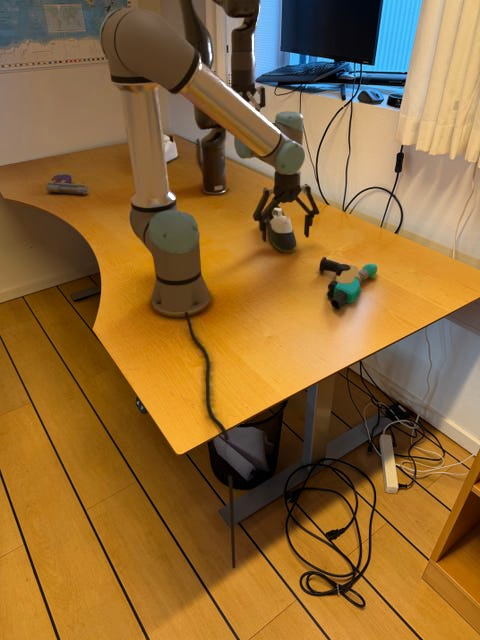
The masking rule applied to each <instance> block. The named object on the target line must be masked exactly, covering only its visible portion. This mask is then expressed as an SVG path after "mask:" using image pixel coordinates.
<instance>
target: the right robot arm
mask: <svg viewBox="0 0 480 640" xmlns="http://www.w3.org/2000/svg"><path fill="white" fill-rule="evenodd" d="M177 1H178V6H179V10H180V15H181V21H182V28H183V33H184V34H183V35H184V39H185V40H186V41H187V42H188V43H190V44H191V45H192V46H193V47H194V48H195V49H196V50H197V51H198V52H199V53H200V56H201V62H203V63H204V64H205V65H206V66H207V67H208V68H209V69H211V70H212V69H213V65H214V62H215V53H214V45H213V38H212V35H211V32H210V31H209V29H208V27H207V25H206V24H205V23H204V21H203V20H202V18H201V17H200V16H199V14H198V12H197V10H196V7H195V4H194V0H177ZM211 1H212V2H213V3H214V4H215V5H216V6H218V7H221V8H222V10H223V11H224V13H225V14H226V16H227V17H229V18H232V19H243V21H242V23H241V25H240V26H238V27H235V28H233V29H232V30H231V34H230V40H231V41H230V43H231V46H230V47H231V56H230V81H231V83H230V87H231V88H232V89H233V90H234V91H236V92H237V93H238V94H239V95H240V96H241V97H242V98H244V99H245V100H246V101H247V102H248V103H249V104H250V103H251V104H252V106H253V107H254V108H255V109H256V110H257V111H258V112H259V113H261V109H262V108H265V107H266V88H265V87H264V86H263V85H260V86H258V87H256V64H257V63H256V54H255V35H256V30H257V26H258V21H259V17H260V13H261V5H262V4H261V3H262V2H261V0H211ZM256 93H257V94H259V103H258V101H257V100H256V98H255V97H254V96H255V94H256ZM192 105H193V106H192V107H193V116H194V121H195V124H196V126H197V128H198V129H199V130H200V131H201V130H202V131H205V130H206V131H207V130H210V132H208V133H207V134H206V135H204V136H203V137H202V138H201V139H199V138H196V142H197V146H198V147H197V148H198V149H197V151H198V152H197V154H198V160H199V164H200V166H201V172H202V173H201V176H202V177H201V179H202V191H203V193H204V194H207V195H214V196H215V195H223V194H224V193H226V192H227V191H228V188H227V161H226V160H227V159H226V141H227V130H226V129H224V128H223V127H222V126H221V125H219V124H218V123H217V122H216V121H214V120H213V119H212V118H210V117H209V116H208V115H207V114H205V113H204V112H203V111H201V110H200V109H199V108H198V107H196V106H195V105H194V104H192Z"/></svg>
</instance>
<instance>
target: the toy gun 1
mask: <svg viewBox="0 0 480 640" xmlns="http://www.w3.org/2000/svg"><path fill="white" fill-rule="evenodd" d="M72 182H73V176H72V174H70V173H58V174H56V175H53V177H52V178H51V182H47V185H46V188H45V190H46V191H47V192H49V193H57V194H74V195H87V192H88V191H89V187H88V185H84V184H78V183H76V184H75V183H72Z"/></svg>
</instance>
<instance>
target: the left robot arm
mask: <svg viewBox="0 0 480 640" xmlns="http://www.w3.org/2000/svg"><path fill="white" fill-rule="evenodd" d="M99 44H100V47H101V50H102V52H103V54H104V57H105V58H106V59H107V63H108V69H109V76H110V80H111V83H112V84H113V85H114V86H115V87H116V88H117V89H118V90H119V94H120V102H121V105H122V106H121V107H122V115H123V120H124V126H125V128H124V129H125V133H126V140H127V146H128V152H129V159H130V165H131V172H132V173H131V174H132V179H133V185H134V193H133V194H132V195H131V197H130V207H131V208H130V210H129V216H128V217H129V224H130V227H131V230H132V232H133V233H134V234H135V236H136V237H137V238H138V239H139V241H141V243H142V244H143V246H145V247H146V249H147V250H148V251H149V253H150V254H151V256H152V260H153V261H152V262H153V268H154V274H155V275H154V276H155V281H154V284H153V290H152V294H151V305H152V308H153V310H154V311H155V312H156V313H157V314H159V315H160V316H163V317H167V318H171V319H183V318H185V319H186V322H187V325H188V330H189V333H190V334H189V335H190V337H191V338H192V341H194V343H195V344H196V345H197V346H198V348H199V350H201V352H202V353H203V356H204V358H205V361H206V362H205V363H206V367H205V368H206V369H205V402H206V409H207V412H208V415H209V418H210V419H211V420H212V422H214V424H215V425H216V426H217V427H218V428H219V430H220V431H221V432H222V434H223V438H224V440H225V441H229V440H230V437H229V434H228V431H227V430H226V428H225V426H224V425H223V424H222V422H220V421H219V420H218V419H217V417H216V416H215V415H214V413H213V409H212V406H211V400H210V399H211V398H210V394H211V393H210V373H211V362H210V357H209V353H208V352H207V350H206V349H205V347H204V346H203V345H202V344H201V342H199V340H198V339H197V337H196V335H195V334H194V331H193V326H192V322H191V319H190V317H194V316H196V315H199V314H201V313H202V312H204V311H205V310H207V308H208V307H209V306H210V303H211V292H210V290H209V288H208V286H207V284H206V281H205V278H204V277H203V275H202V262H201V261H202V259H201V243H200V242H201V241H200V238H201V237H200V235H201V234H200V230H199V226H198V221H197V220H196V218H195V217H194V216H193V215H192V214H190V213H188V212H186V211H181V210H178V202H177V195H176V193H175V192H173V191H172V190H171V189H170V184H169V175H168V164H167V162H166V154H165V145H164V136H163V134H164V127H163V119H162V110H161V100H160V91H159V90H160V89H159V88H160V87H162V88H164V89H165V90H166V91H167V92H169V93H170V94H171V95H180V96H182V97H183V98H184V99H186V100H187V101H188V102H189V103H191V104H192V105H193V104H194V105H195V106H196V107H198V108H199V109H200V110H201V111H203V112H204V113H205V114H207V115H208V116H209V117H210V118H212V119H213V120H214V121H216V122H217V123H218V124H219V125H221V126H222V127H223V128H224V129H226V132H228V133H230V134H231V135H232V136H233V137H234V138H233V145H234V150H235V152H236V154H237V156H238V157H239V158H240V159H243V160H244V159H249V160H250V159H252V158H256V159H258V160H259V161H262V162H263V163H265V164H267V165H269V166H270V167H272V168H274V170H275V171H274V175H273V176H274V177H273V178H274V181H273V182H274V183H273V188H268V187H266V186H265V187H264V188H263V191H262V195H261V198H260V199H259V202H258V204H257V206H256V208H255V210H254V212H253V215H252V218H253V220H254V221H255V222H258V230H259V232H260V233H261V240H262V242H263V243H267V224H266V218H267V217H268V216H269V215H270V213H271V212H272V211H273V210H274V208H275V207H276V206H279V205H280V204H286V203H294V201H295V202H296V203H297V204H298V205H299V206H300V207H301V208H302V210H304V212H305V213H306V214H304V226H303V235H304V236H305V238H306V239H307V238H309V237H310V227H312V226H313V224H314V223H313V222H314V218H315V216H317V215H320V210H319V208H318V206H317V203H316V201H315V199H314V197H313V195H312V188H311V185H309V184H308V183H305V184H304V185H301V177H302V171H301V170H302V166H303V165H304V162H305V159H306V151H305V149H304V147H303V139H304V132H305V131H304V117H303V114H301V113H300V112H298V111H290V110H288V111H287V110H286V111H280V112H277V113H276V114H275V117H274V118H275V119H274V122H271V121H270V120H269V119H268V118H267V117H265V116H264V115H263V114H262V113H261V112H260V113H259V112H258V111H257V110H256V109H255V106H254V105H253V104H252V105H251V104H250V102H249V103H248V102H247V101H246V100H245V99H244V98H242V97H241V96H240V95H239V94H238V93H237V92H236V91H234V90H233V89H232V88H231V85H229V84H228V83H227V82H226V81H224V80H223V79H222V78H221V77H220V76H219V75H218V74H216V73H215V71H213V70H212V69H209V68H208V67H207V66H206V65H205V64H204V63H203V62H201V56H200V53H199V52H198V51H197V50H196V49H195V48H194V47H193V46H192V45H191V44H190V43H188V42H187V41H186V40H185V37H184V36H182V34H181V33H180V32H179V31H177V30H176V28H174V26H173V25H171V24H170V23H169V22H168V21H167V20H166V19H164V17H162V16H161V15H160V14H158V13H156V12H154V11H152V10H149V9H143V8H142V9H141V8H137V7H134V6H133V7H131V6H124V7H118V8H116V9H113V10H112V11H110V12H109V13H108V14H107V15H106V16H105V18H104V19H103V21H102V23H101V26H100V29H99ZM301 192H303V193H304V194H305V196H306V198H307V200H308V203H309V204H310V206H311V208H312V209H310V208H309V207H308V205H306V203H304V200H302V199H301V198H300V196H299V195H300V194H301ZM272 194H273V195H274V196H273V197H272V199H271V201H269V198H270V197H271V196H272ZM268 201H269V203H268ZM267 203H268V205H267ZM266 205H267V206H266ZM227 480H228V495H229V516H230V545H231V566H232V569H235V568H236V566H237V565H236V542H235V541H236V540H235V539H236V538H235V508H234V507H235V506H234V488H233V487H234V485H233V475H227Z"/></svg>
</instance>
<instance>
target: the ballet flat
mask: <svg viewBox="0 0 480 640" xmlns="http://www.w3.org/2000/svg"><path fill="white" fill-rule="evenodd" d="M265 221H266V228H267V230H266V233H267V236H268V238H269V240H270V242H271V243H272V245H273V246H274V247H275V248H276V249H277V250H279V251H280V252H282V253H291V252H293V251H294V250H295V248H296V247H297V239H296V235H295V232H294V231H295V230H294V229H293V226H292V222H291V218H290V217H289V216H286V215H285V213H284V211H283V208H281V207H280V206H279V205H278V206H276V207H275V208H274V210H273V211H272V212H271V213H270V215H269V216H268V217H267V218H266V219H265Z"/></svg>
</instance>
